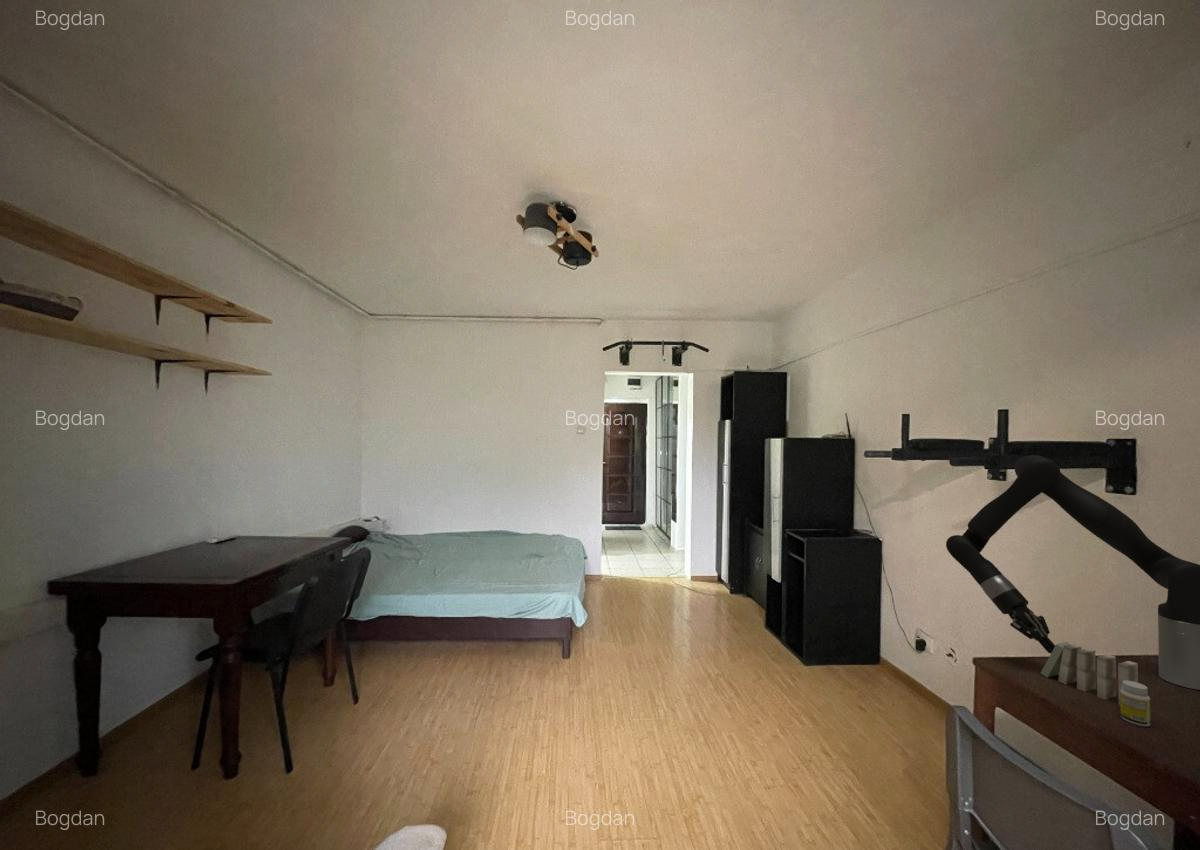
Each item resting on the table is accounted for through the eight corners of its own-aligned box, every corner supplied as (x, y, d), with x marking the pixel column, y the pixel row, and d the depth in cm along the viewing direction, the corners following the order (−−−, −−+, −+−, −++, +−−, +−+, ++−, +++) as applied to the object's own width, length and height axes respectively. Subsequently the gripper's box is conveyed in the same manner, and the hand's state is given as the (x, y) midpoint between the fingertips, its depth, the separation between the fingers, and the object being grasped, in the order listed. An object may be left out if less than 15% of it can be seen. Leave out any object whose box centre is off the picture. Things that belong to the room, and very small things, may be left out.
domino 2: (1068, 678, 133) (1074, 643, 132) (1076, 681, 131) (1081, 646, 130) (1058, 681, 131) (1063, 645, 130) (1065, 684, 129) (1071, 648, 128)
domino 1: (1051, 670, 136) (1066, 641, 133) (1057, 674, 135) (1073, 646, 132) (1040, 673, 134) (1056, 644, 131) (1047, 677, 133) (1063, 648, 130)
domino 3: (1087, 685, 129) (1087, 647, 129) (1095, 688, 127) (1095, 650, 128) (1077, 688, 127) (1076, 650, 127) (1085, 691, 126) (1084, 652, 126)
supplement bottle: (1131, 715, 115) (1131, 679, 115) (1156, 726, 110) (1156, 689, 111) (1114, 715, 114) (1114, 679, 115) (1139, 727, 110) (1139, 690, 110)
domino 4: (1107, 693, 125) (1107, 654, 126) (1116, 696, 124) (1115, 656, 124) (1097, 696, 123) (1096, 656, 124) (1105, 699, 122) (1105, 659, 122)
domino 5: (1129, 701, 121) (1128, 660, 122) (1138, 704, 120) (1137, 663, 120) (1118, 704, 120) (1118, 663, 120) (1127, 707, 118) (1127, 666, 118)
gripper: (999, 589, 141) (1052, 649, 129) (1027, 585, 146) (1079, 643, 134) (979, 602, 146) (1028, 660, 134) (1006, 598, 150) (1056, 654, 139)
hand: (1054, 651), depth 134 cm, fingers closed
